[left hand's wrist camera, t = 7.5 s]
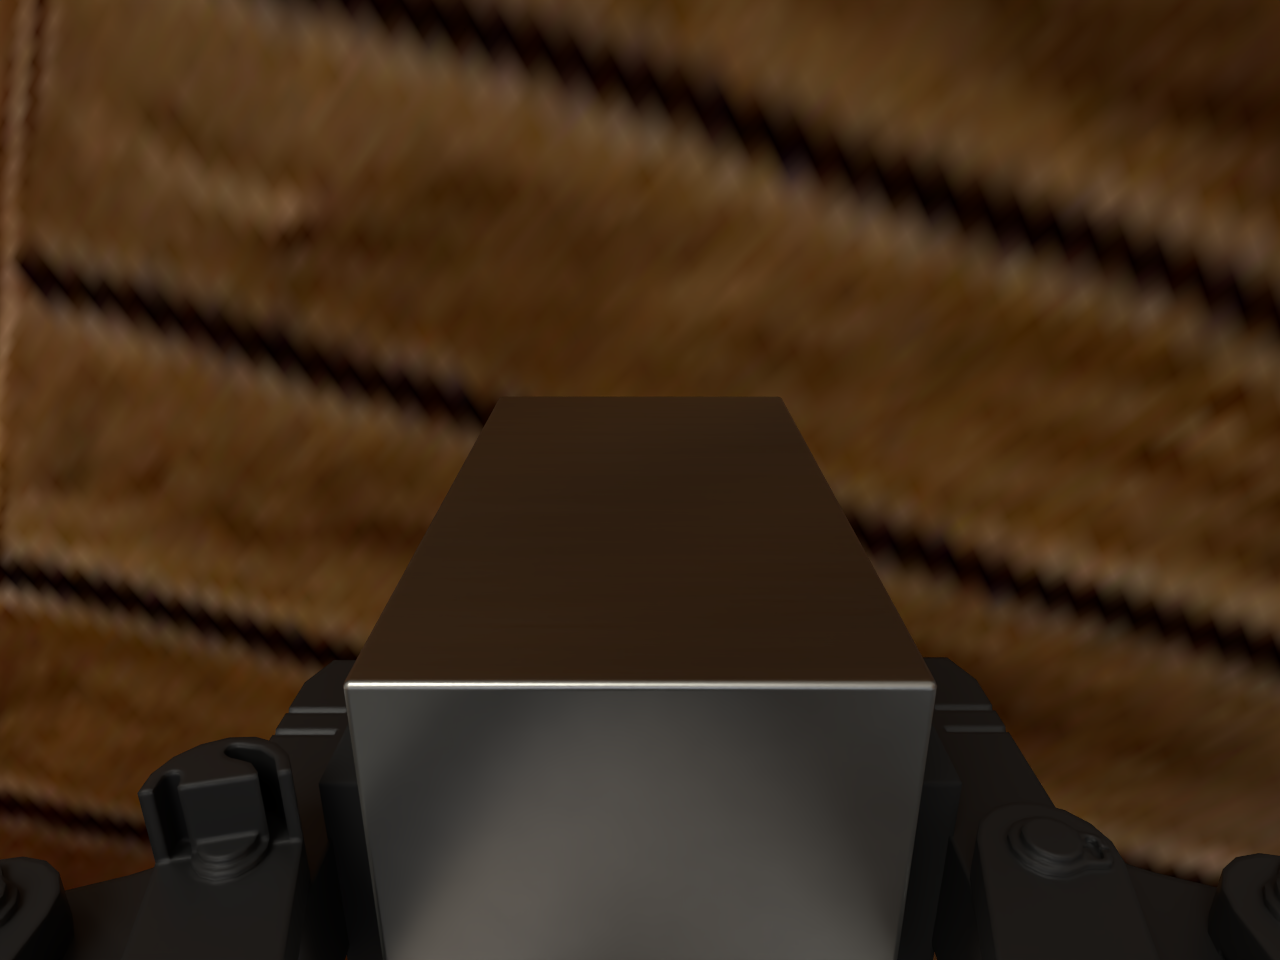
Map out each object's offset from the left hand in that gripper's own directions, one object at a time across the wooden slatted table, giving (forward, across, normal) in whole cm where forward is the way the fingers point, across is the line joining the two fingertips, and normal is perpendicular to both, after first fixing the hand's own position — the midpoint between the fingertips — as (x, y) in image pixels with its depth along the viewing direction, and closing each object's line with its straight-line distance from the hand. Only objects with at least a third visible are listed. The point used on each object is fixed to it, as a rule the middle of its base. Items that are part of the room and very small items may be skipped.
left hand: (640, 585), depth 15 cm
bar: (+1, 0, -10) cm, 10 cm away
